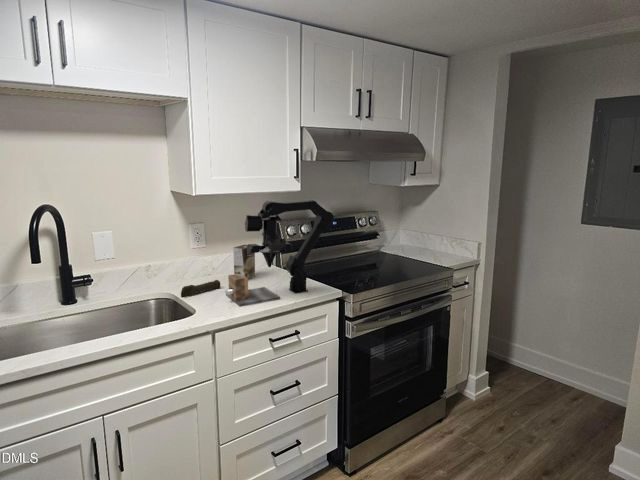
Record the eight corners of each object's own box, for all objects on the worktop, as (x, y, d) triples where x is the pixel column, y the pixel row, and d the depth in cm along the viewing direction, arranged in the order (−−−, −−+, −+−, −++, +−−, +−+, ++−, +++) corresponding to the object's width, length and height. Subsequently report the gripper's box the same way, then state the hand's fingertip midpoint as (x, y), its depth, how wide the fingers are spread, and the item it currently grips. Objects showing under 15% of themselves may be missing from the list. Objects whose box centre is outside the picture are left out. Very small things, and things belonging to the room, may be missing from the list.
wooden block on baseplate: (264, 289, 192) (264, 267, 190) (280, 299, 179) (279, 276, 177) (226, 295, 183) (225, 273, 181) (239, 306, 170) (238, 282, 168)
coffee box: (244, 281, 204) (243, 248, 201) (233, 279, 207) (232, 247, 204) (255, 276, 212) (254, 245, 209) (245, 275, 215) (244, 244, 212)
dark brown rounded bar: (216, 287, 196) (215, 277, 195) (221, 289, 193) (220, 279, 192) (178, 296, 182) (177, 286, 181) (182, 298, 180) (182, 288, 179)
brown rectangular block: (244, 293, 181) (243, 275, 180) (248, 296, 177) (247, 278, 176) (224, 296, 177) (223, 278, 175) (228, 300, 173) (227, 281, 171)
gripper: (255, 234, 169) (255, 273, 172) (298, 233, 178) (297, 269, 180) (246, 230, 179) (246, 267, 181) (287, 229, 187) (286, 263, 190)
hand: (269, 267), depth 183 cm, fingers closed
